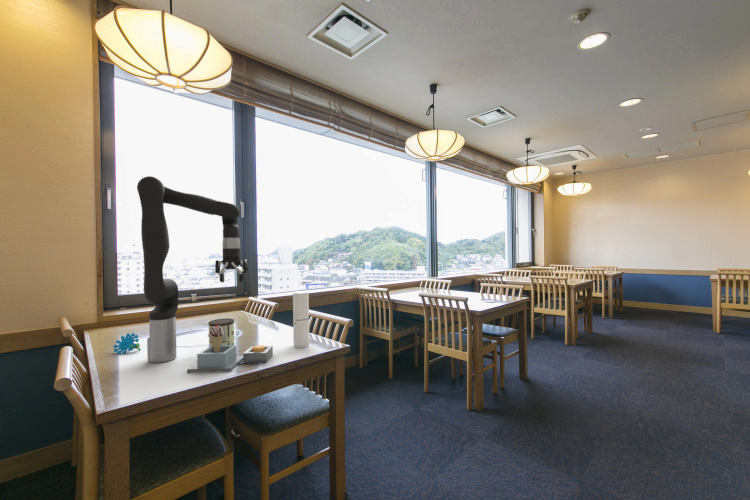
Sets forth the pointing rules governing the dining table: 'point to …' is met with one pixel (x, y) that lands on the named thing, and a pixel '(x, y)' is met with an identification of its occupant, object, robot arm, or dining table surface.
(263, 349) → the button
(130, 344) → the blue knobby piece
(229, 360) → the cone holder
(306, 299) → the cylindrical container
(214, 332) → the ice cream cone
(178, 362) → the dining table surface
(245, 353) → the button housing
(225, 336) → the coffee can
